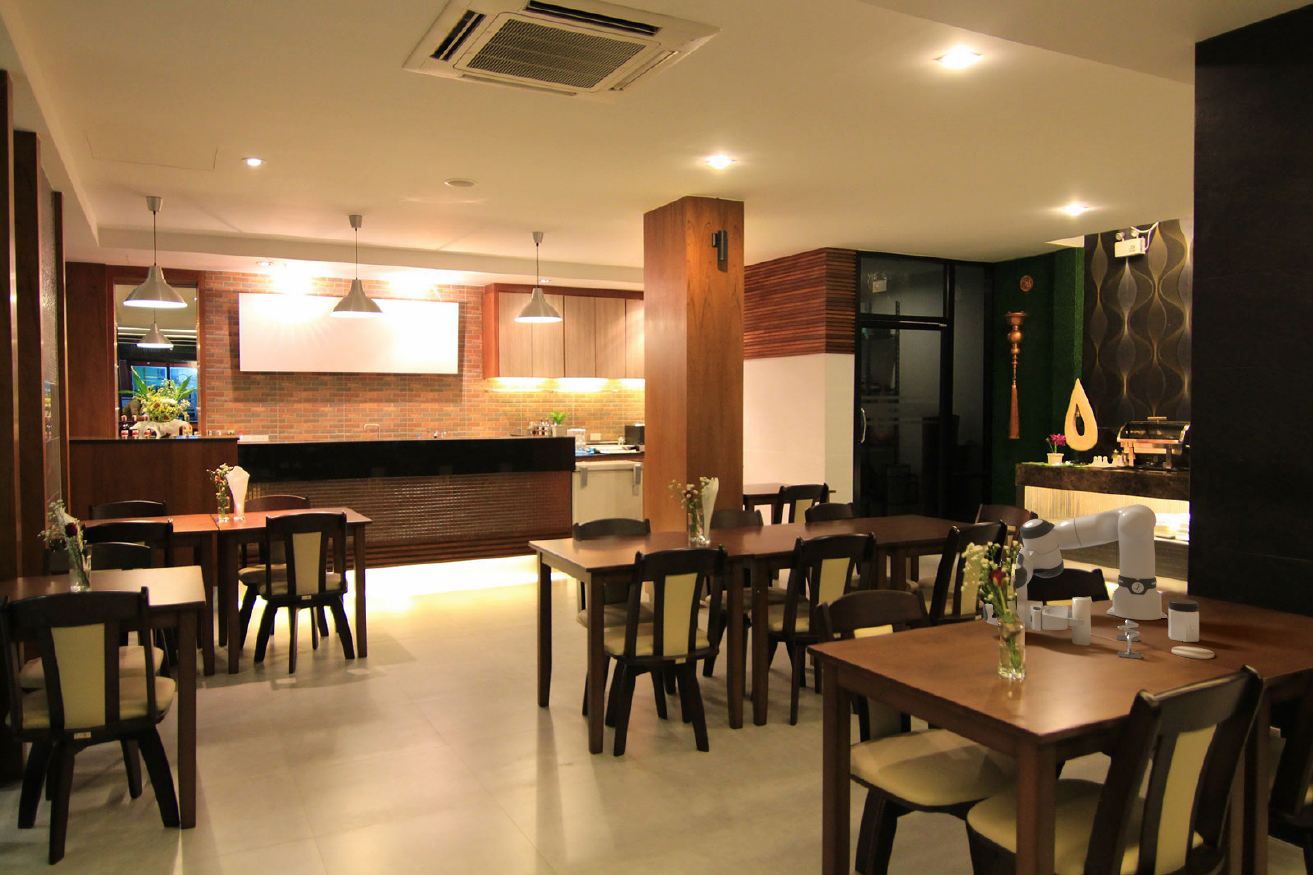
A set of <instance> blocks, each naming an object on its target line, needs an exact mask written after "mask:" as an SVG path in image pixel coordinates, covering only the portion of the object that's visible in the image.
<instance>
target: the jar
mask: <svg viewBox="0 0 1313 875" xmlns="http://www.w3.org/2000/svg"><path fill="white" fill-rule="evenodd" d="M1199 606H1200V604H1199V602H1198V601H1196V600H1192V599H1185V598H1170V599H1169V600H1168V611H1167V612H1168V615H1167V616H1168V618H1167V620H1168V621H1167V622H1168V623H1167V624H1168V627H1167V628H1168V629H1167V630H1168V632H1167V635H1168V638H1169V639H1170V640H1172V641H1177V642H1182V641H1183V643H1192V642H1193V643H1195V642H1197V643H1198V642H1199V641H1200V612H1199Z"/></svg>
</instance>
